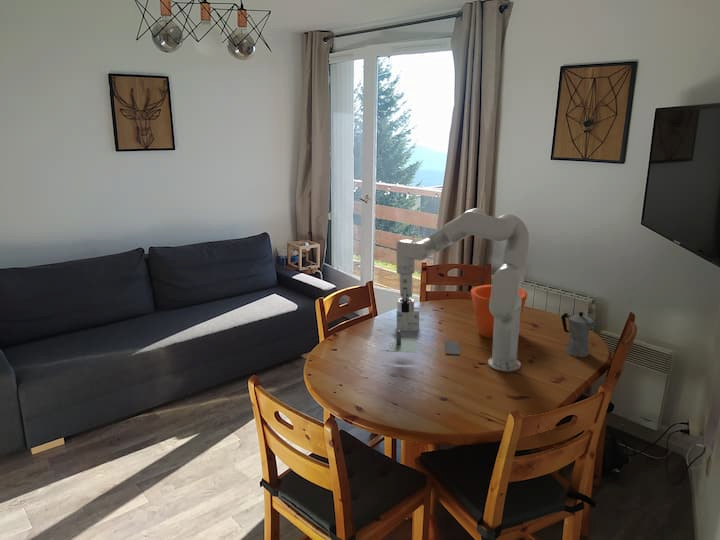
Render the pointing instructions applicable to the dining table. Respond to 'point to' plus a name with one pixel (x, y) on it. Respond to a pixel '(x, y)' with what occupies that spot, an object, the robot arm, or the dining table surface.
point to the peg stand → (404, 344)
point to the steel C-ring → (411, 305)
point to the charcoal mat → (452, 347)
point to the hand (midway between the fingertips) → (405, 309)
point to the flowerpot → (487, 308)
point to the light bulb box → (408, 320)
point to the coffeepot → (578, 334)
